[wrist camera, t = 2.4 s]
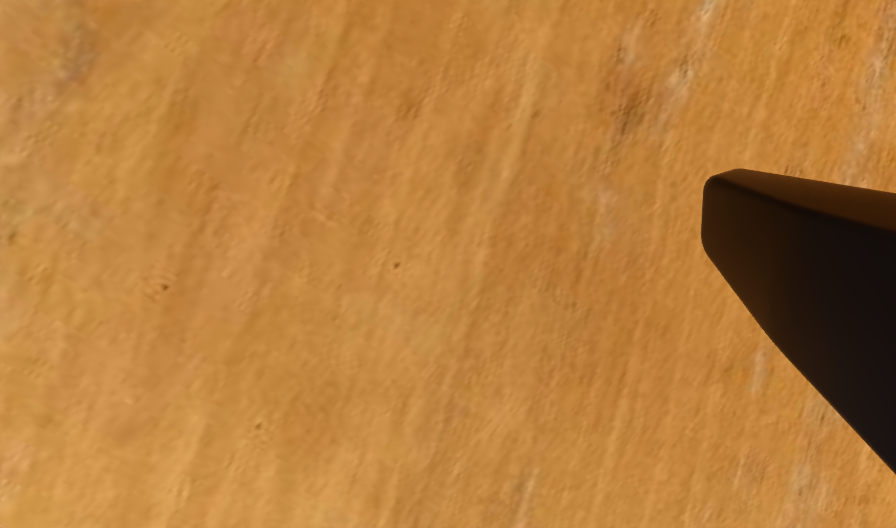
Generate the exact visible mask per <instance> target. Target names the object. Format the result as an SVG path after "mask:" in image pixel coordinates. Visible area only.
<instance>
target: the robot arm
mask: <svg viewBox="0 0 896 528" xmlns="http://www.w3.org/2000/svg"><path fill="white" fill-rule="evenodd" d="M701 239H702V244H703V247H704V250H705V252H706V254H707V255H708V257H709V258H710V260H711V261H712V262H713V264H714V265H715V266H716V268H717V269H718V270H719V272H720V273H721V274H722V276H723V277H724V278H725V280H726V281H727V282H728V284H729V285H730V286H731V288H732V289H733V290H734V292H735V293H736V294H737V296H738V297H739V298H740V300H741V301H742V302H743V304H744V305H745V306H746V308H747V309H748V310H749V312H750V313H751V314H752V316H753V317H754V318H755V320H756V321H757V322H758V324H759V325H760V326H761V328H762V329H763V330H764V331H765V333H766V334H767V335H768V336H769V338H770V339H771V340H772V341H773V343H774V344H775V345H776V346H777V347H778V348H779V350H780V351H781V352H782V353H783V354H784V355H785V356H786V357H787V358H788V360H789V361H790V362H791V363H792V364H793V365H794V366H795V367H796V368H797V369H798V370H799V371H800V372H801V374H802V375H803V376H804V377H805V378H806V379H807V380H808V381H809V382H810V383H811V384H812V385H813V386H814V387H815V389H816V390H817V391H818V392H819V393H820V394H821V395H822V396H823V397H824V398H825V399H826V400H827V401H828V402H829V404H830V405H831V406H832V407H833V408H834V409H835V410H836V411H837V412H838V413H839V414H840V415H841V416H842V418H843V419H844V420H845V421H846V422H847V423H848V424H849V425H850V426H851V427H852V428H853V429H854V430H855V431H856V433H857V434H858V435H859V436H860V437H861V438H862V439H863V440H864V441H865V442H866V443H867V444H868V445H869V446H870V448H871V449H872V450H873V451H874V452H875V453H876V454H877V455H878V456H879V457H880V458H881V459H882V460H883V462H884V463H885V464H886V465H887V466H888V467H889V468H890V469H891V470H892V471H893V472H894V473H895V474H896V193H890V192H884V191H878V190H871V189H865V188H859V187H853V186H847V185H840V184H834V183H828V182H822V181H816V180H809V179H803V178H797V177H791V176H785V175H778V174H772V173H766V172H760V171H754V170H747V169H733V170H730V171H727V172H723V173H720V174H717V175H714V176H711V177H710V178H709V179H708V180H707V181H706V183H705V185H704V189H703V204H702V224H701Z"/></svg>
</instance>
